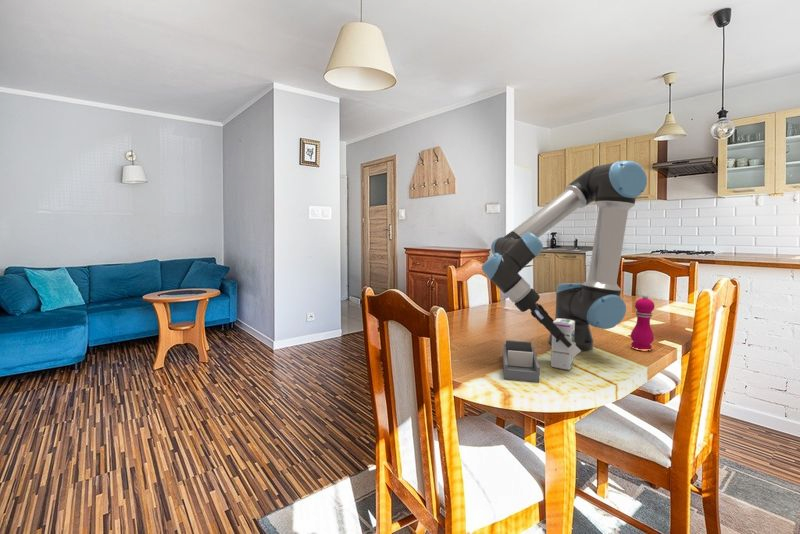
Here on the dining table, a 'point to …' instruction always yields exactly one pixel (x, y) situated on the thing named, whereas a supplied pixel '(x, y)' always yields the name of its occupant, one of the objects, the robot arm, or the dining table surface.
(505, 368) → the grey card holder
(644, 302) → the pepper mill
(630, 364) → the dining table surface
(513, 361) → the block
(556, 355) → the syrup box
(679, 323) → the dining table surface
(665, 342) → the dining table surface
